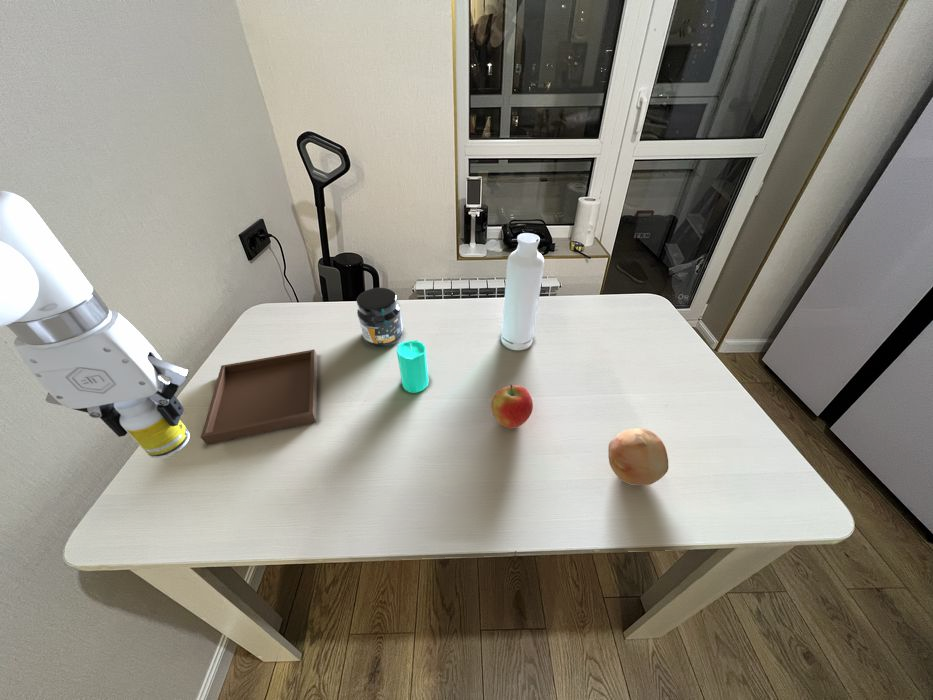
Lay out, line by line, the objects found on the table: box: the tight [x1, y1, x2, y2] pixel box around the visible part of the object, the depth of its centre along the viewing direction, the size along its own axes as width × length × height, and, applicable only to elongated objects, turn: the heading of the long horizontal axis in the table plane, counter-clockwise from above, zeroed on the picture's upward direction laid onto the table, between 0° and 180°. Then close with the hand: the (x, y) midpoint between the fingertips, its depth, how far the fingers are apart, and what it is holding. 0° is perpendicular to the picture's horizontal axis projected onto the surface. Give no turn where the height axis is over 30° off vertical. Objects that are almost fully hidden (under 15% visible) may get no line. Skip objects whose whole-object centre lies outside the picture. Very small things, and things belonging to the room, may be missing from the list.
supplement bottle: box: [114, 397, 191, 459], centre depth 52 cm, size 5×5×10 cm
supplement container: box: [356, 287, 404, 348], centre depth 95 cm, size 10×10×12 cm
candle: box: [396, 340, 429, 394], centre depth 82 cm, size 6×6×12 cm
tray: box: [200, 348, 318, 446], centre depth 82 cm, size 21×21×3 cm
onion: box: [607, 427, 669, 486], centre depth 66 cm, size 10×10×10 cm
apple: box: [490, 384, 534, 429], centre depth 75 cm, size 8×8×10 cm
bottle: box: [500, 232, 545, 351], centre depth 89 cm, size 8×8×28 cm
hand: (152, 422), depth 52 cm, fingers closed on supplement bottle, 5 cm apart
